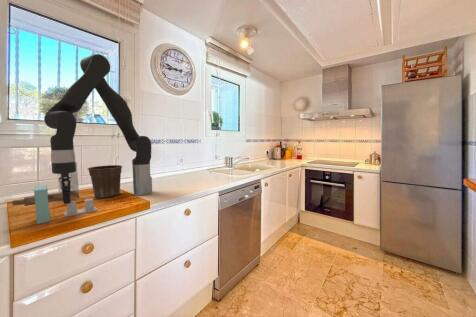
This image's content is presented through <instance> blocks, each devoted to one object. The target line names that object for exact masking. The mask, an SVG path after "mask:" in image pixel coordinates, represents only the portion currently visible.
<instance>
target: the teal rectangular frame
mask: <svg viewBox="0 0 476 317" xmlns="http://www.w3.org/2000/svg"><path fill="white" fill-rule="evenodd" d="M48 191H49V190H48V185H47V184H46V185H38V186H37V185H35V187H34V189H33V194H34V195H33V196H35V205H34V206H35V215H36V216H35V218H36V224H37V225H39V224H44V223H50V222H51V216H50V204H49V203H50V202H48V194H49V193H48Z"/></svg>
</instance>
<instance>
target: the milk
mask: <svg viewBox="0 0 476 317" xmlns="http://www.w3.org/2000/svg"><path fill="white" fill-rule="evenodd" d="M75 162H76V171H75V172H73V173H69V176H71V179H72V181H71V188H70V190H71V191H75V190H78V191H79V190H80V189H79V177H78V162H77V161H75ZM56 175H57V188H58V193H59V192H61V191H62V190H61V189H60V182H59V178H58V177H61V174H56ZM79 192H80V191H79Z"/></svg>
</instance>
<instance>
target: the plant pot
mask: <svg viewBox="0 0 476 317" xmlns="http://www.w3.org/2000/svg"><path fill="white" fill-rule="evenodd" d="M122 168H123V166H122V165H118V164H115V165H113V164H112V165H110V164H108V165H98V166H91V167H88V168H87V170H88V173H89V176H90V180H91V184H92V190H93V194H94V198H96V199H105V198H111V197H116V196H119V195H120V194H121V179H122V178H121V177H122V176H121V175H122Z"/></svg>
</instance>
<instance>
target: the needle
mask: <svg viewBox="0 0 476 317" xmlns="http://www.w3.org/2000/svg"><path fill="white" fill-rule="evenodd" d="M79 198H80V191H78V190H75V191H71V193H70V200H74V199H79ZM60 201H63V194H62V192H59V191H58V192H53V193H48V202H49V203H53V202H60ZM11 202H12V207H15V206H20V205H24V207H26V206H27V207H28V206H35V196H34V195H30V196H24V197H23V199H21V198H20V199H15V200H12V201H11Z"/></svg>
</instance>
